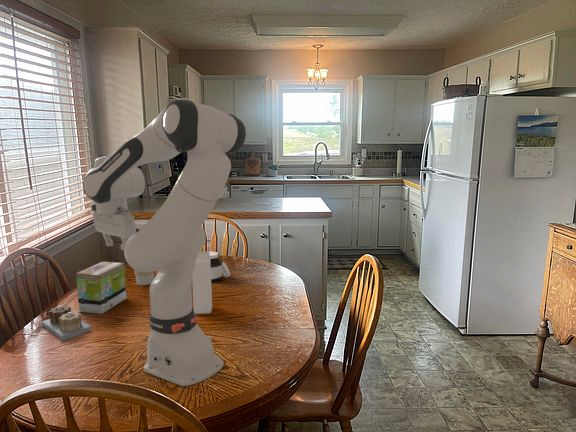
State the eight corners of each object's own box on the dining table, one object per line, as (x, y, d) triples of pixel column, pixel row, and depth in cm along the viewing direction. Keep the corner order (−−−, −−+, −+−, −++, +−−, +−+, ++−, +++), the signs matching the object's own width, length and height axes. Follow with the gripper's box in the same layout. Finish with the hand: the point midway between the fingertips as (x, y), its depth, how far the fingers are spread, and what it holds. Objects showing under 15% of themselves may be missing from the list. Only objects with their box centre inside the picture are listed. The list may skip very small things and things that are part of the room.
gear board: (91, 330, 136) (89, 311, 134) (62, 340, 129) (60, 321, 128) (70, 316, 146) (68, 299, 145) (42, 325, 139) (40, 307, 138)
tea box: (103, 314, 148) (99, 274, 145) (78, 312, 150) (74, 273, 147) (127, 298, 162) (124, 262, 159) (104, 296, 164) (101, 260, 161)
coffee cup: (160, 281, 181) (158, 247, 178) (143, 287, 173) (141, 252, 170) (146, 277, 185) (144, 244, 183) (129, 283, 178) (126, 249, 175)
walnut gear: (75, 318, 141) (74, 307, 140) (57, 325, 136) (56, 314, 135) (64, 315, 144) (63, 304, 143) (46, 321, 139) (45, 310, 138)
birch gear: (85, 326, 135) (83, 315, 134) (65, 333, 130) (64, 321, 130) (76, 321, 139) (75, 310, 138) (57, 328, 134) (56, 316, 133)
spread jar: (196, 279, 183) (195, 254, 181) (214, 272, 192) (213, 248, 190) (217, 284, 177) (216, 258, 174) (234, 277, 186) (233, 251, 184)
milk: (210, 313, 149) (208, 253, 144) (193, 314, 148) (190, 254, 143) (212, 306, 154) (210, 249, 150) (195, 307, 154) (193, 249, 149)
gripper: (139, 207, 131) (143, 250, 133) (106, 202, 143) (110, 241, 146) (120, 210, 126) (124, 254, 128) (88, 205, 139) (92, 245, 141)
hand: (117, 247), depth 137 cm, fingers open, 8 cm apart
